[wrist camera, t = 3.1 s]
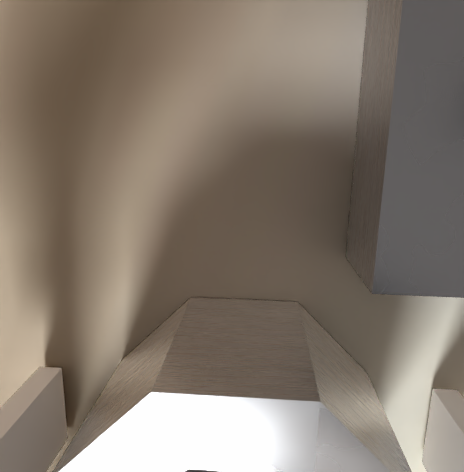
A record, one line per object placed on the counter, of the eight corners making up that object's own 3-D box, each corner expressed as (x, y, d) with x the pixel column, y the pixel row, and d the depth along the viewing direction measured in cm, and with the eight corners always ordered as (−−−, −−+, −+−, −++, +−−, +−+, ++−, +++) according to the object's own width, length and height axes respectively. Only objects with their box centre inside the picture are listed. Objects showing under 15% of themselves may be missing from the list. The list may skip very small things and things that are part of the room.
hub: (127, 501, 15) (65, 673, 10) (118, 293, 13) (36, 385, 8) (351, 517, 15) (397, 706, 10) (374, 304, 13) (445, 408, 8)
